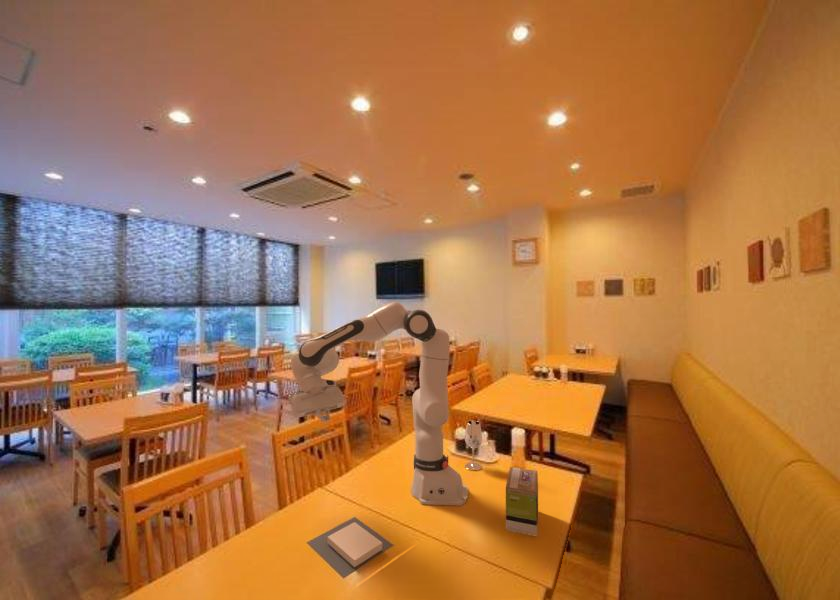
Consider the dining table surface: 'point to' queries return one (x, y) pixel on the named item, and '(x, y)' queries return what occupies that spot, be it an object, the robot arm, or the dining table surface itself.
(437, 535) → the dining table surface
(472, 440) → the wineglass
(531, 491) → the tea box
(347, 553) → the glazed tile
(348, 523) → the slate mat
